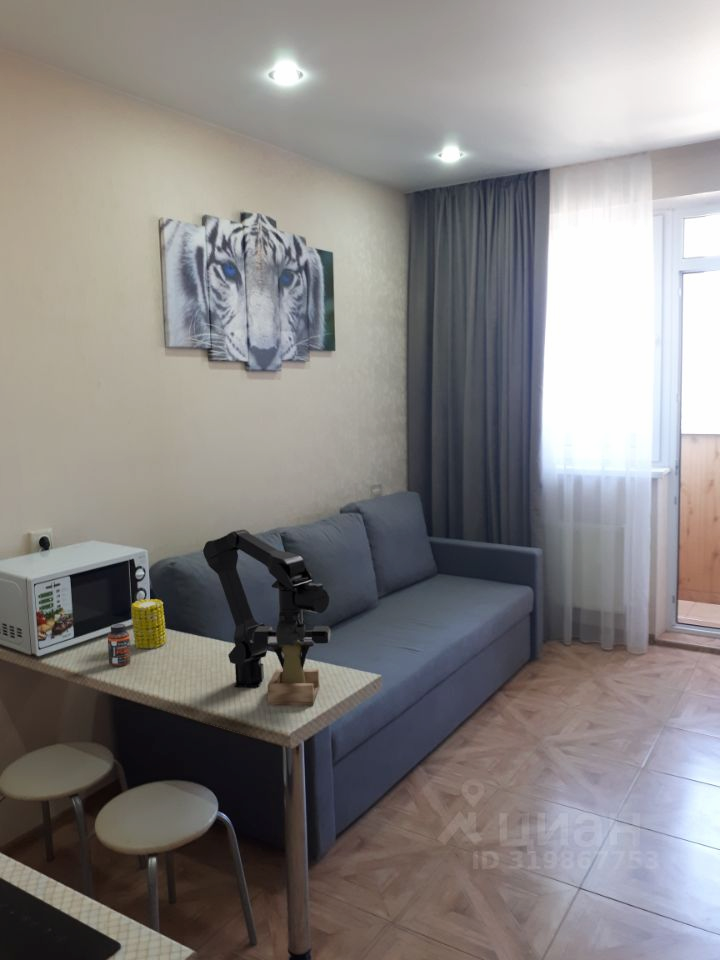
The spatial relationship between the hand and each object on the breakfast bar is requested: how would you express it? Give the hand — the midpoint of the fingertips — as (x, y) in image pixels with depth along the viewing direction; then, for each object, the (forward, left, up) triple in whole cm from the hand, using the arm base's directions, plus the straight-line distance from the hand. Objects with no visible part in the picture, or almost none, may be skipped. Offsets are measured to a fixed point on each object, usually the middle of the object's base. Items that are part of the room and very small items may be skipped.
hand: (292, 668), depth 185 cm
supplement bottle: (-54, +24, -7) cm, 60 cm away
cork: (0, 0, -4) cm, 4 cm away
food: (-51, +40, -7) cm, 66 cm away
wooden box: (0, 0, -7) cm, 7 cm away
